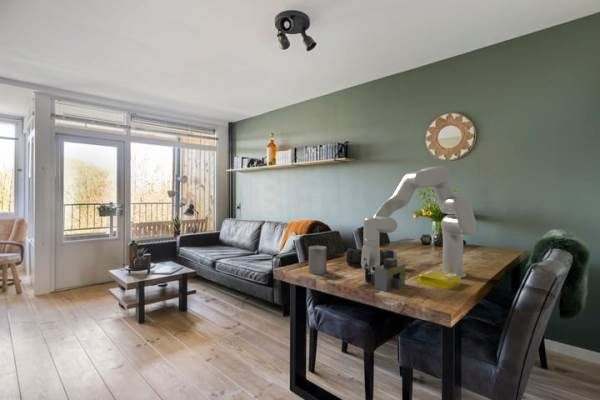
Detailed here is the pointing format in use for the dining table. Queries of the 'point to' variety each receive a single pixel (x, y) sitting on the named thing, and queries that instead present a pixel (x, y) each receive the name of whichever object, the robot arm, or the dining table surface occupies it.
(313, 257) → the pillar candle
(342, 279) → the dining table surface
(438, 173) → the robot arm
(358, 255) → the muzzle brake
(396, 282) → the grey and white bar
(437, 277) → the element tile
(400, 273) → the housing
